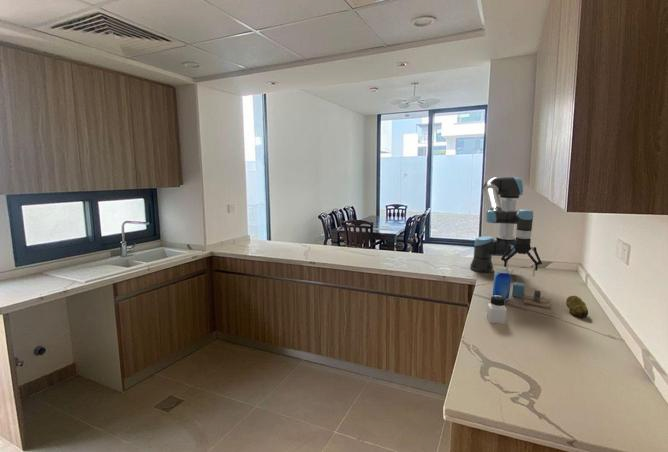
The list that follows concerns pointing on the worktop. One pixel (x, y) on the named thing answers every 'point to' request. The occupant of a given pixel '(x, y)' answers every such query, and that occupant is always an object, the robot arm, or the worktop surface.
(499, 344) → the worktop surface
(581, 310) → the brown oval lump
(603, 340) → the worktop surface
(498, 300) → the medicine bottle
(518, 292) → the light blue chamfered box
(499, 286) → the beer can
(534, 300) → the tan square panel
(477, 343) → the worktop surface
